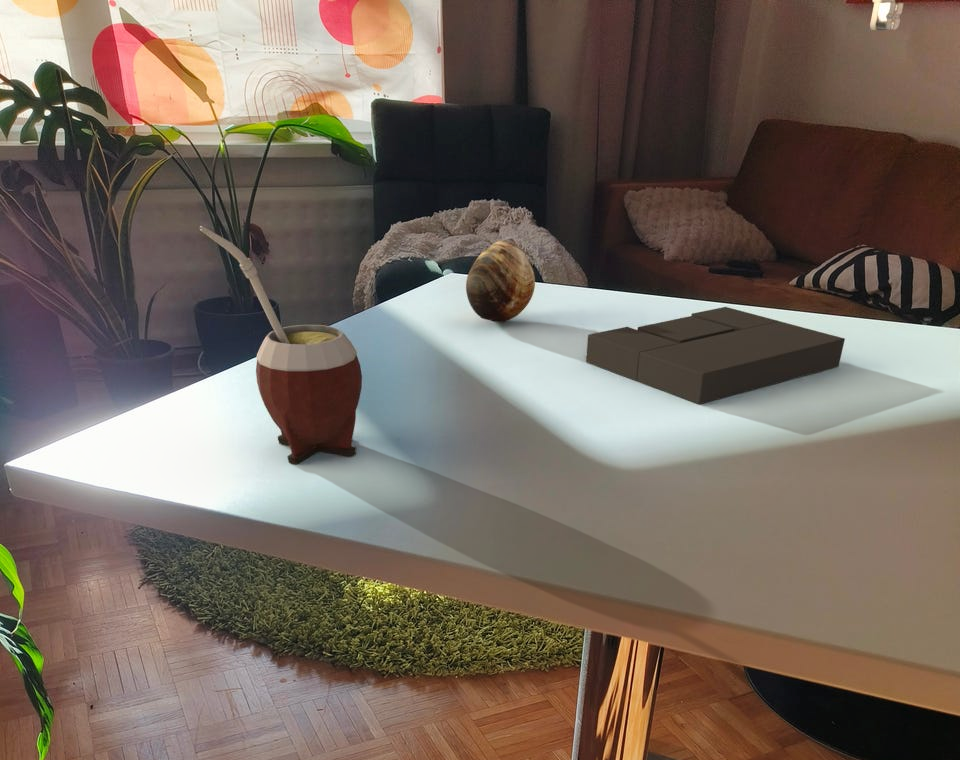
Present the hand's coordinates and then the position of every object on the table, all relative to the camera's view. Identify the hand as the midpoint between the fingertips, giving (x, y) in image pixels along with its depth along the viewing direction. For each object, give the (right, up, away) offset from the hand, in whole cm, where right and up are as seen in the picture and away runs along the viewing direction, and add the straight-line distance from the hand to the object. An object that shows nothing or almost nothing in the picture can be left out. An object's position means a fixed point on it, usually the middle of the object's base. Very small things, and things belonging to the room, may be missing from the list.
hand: (938, 29), depth 68 cm
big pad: (-14, -21, +13) cm, 29 cm away
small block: (-16, -20, +16) cm, 30 cm away
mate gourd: (-47, -33, -4) cm, 58 cm away
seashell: (-33, -13, +26) cm, 44 cm away
